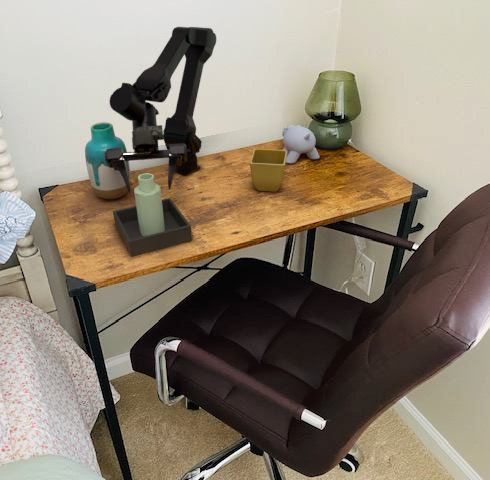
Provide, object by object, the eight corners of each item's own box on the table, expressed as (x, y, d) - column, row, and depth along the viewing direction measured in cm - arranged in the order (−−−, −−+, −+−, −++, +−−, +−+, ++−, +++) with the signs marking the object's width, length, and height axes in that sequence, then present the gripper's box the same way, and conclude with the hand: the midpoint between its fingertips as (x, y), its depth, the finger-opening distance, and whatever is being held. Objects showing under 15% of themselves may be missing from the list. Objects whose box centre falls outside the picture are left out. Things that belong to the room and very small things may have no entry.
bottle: (135, 231, 113) (127, 177, 105) (153, 221, 117) (146, 168, 109) (151, 240, 110) (144, 185, 102) (169, 230, 113) (164, 175, 105)
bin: (115, 225, 117) (112, 211, 115) (171, 211, 121) (169, 197, 119) (131, 257, 106) (128, 241, 104) (192, 240, 110) (191, 225, 108)
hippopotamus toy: (302, 142, 153) (304, 112, 148) (325, 161, 141) (328, 130, 136) (270, 147, 151) (271, 117, 146) (290, 167, 139) (292, 135, 134)
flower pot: (283, 196, 125) (284, 164, 120) (249, 194, 127) (249, 162, 122) (285, 180, 132) (287, 149, 127) (253, 179, 134) (253, 148, 129)
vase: (141, 193, 129) (132, 124, 119) (109, 209, 123) (96, 138, 112) (116, 182, 136) (105, 115, 125) (84, 196, 129) (70, 127, 118)
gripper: (98, 115, 107) (102, 183, 104) (183, 109, 108) (189, 176, 105) (107, 135, 118) (110, 197, 115) (184, 129, 119) (189, 191, 116)
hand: (149, 190), depth 113 cm, fingers open, 9 cm apart
